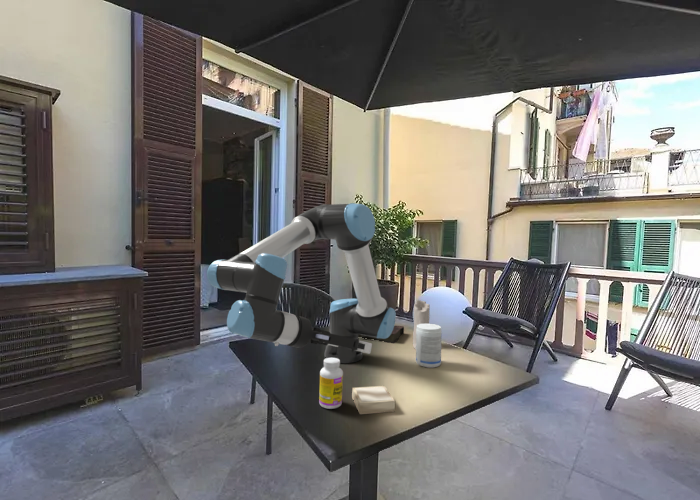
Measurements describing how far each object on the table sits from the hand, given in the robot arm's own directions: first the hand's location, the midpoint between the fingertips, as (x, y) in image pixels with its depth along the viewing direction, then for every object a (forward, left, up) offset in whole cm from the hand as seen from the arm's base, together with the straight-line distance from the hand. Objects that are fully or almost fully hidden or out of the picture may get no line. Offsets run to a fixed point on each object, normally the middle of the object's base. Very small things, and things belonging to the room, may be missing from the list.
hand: (353, 345), depth 98 cm
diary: (-69, +26, -19) cm, 76 cm away
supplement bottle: (-3, -6, -18) cm, 19 cm away
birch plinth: (-1, +6, -18) cm, 19 cm away
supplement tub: (-29, +36, -18) cm, 50 cm away
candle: (-49, +42, -18) cm, 67 cm away
